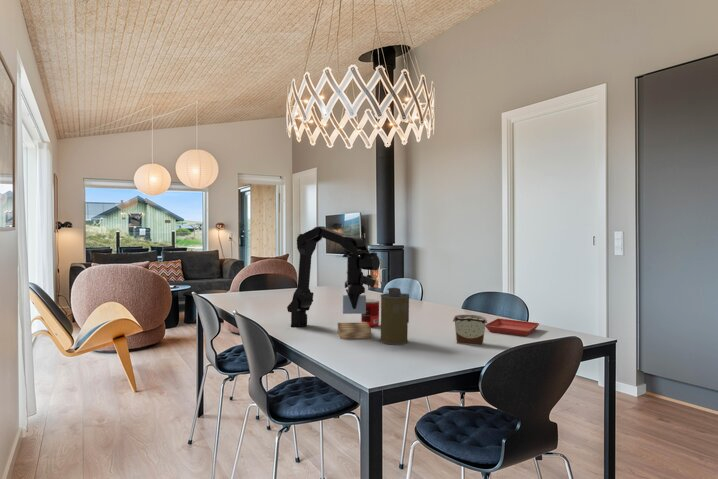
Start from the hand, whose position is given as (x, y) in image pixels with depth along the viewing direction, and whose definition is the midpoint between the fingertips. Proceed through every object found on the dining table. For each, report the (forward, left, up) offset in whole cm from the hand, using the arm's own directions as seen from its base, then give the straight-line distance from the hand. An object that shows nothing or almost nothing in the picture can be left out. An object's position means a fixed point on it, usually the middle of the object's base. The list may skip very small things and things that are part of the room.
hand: (354, 308), depth 187 cm
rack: (0, 0, -10) cm, 11 cm away
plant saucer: (+67, +3, -11) cm, 68 cm away
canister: (+14, -12, -11) cm, 21 cm away
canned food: (+9, +18, -11) cm, 23 cm away
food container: (+42, -16, -11) cm, 46 cm away
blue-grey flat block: (0, 0, -2) cm, 2 cm away
